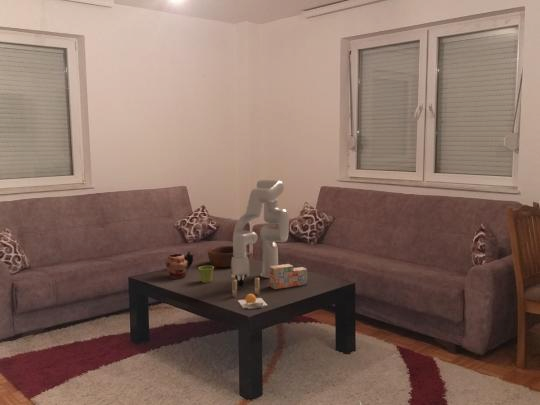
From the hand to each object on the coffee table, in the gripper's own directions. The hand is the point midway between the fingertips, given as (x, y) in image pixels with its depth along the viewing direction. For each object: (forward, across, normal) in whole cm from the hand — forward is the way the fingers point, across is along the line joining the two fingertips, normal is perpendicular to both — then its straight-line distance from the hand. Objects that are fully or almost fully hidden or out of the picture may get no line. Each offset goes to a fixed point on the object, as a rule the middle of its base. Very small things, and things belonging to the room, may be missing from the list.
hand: (240, 286), depth 315 cm
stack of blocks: (+2, -28, +2) cm, 28 cm away
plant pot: (+2, +16, -22) cm, 27 cm away
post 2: (+2, -6, +13) cm, 15 cm away
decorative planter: (+2, +32, -40) cm, 51 cm away
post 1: (+2, +6, +13) cm, 15 cm away
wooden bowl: (+2, -4, -60) cm, 60 cm away
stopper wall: (+2, 0, +35) cm, 35 cm away
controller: (+2, +24, -60) cm, 65 cm away
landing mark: (+2, 0, +27) cm, 27 cm away
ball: (-1, +1, +29) cm, 29 cm away
